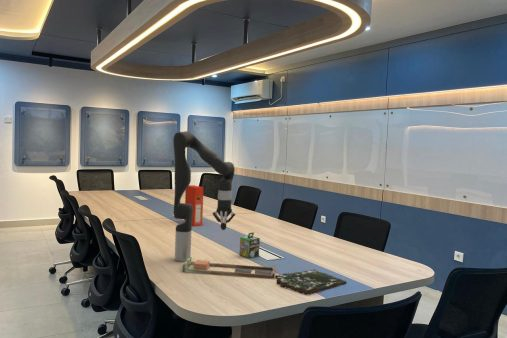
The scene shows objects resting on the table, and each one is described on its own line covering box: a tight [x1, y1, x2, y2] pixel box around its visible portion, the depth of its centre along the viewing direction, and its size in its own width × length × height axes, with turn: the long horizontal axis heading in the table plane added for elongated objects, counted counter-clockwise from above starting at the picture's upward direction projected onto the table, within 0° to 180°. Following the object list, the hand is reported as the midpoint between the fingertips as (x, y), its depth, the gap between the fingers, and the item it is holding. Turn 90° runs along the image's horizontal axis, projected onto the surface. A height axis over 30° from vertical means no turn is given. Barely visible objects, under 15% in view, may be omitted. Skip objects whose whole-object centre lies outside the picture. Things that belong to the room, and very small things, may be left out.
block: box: [193, 259, 211, 270], centre depth 219 cm, size 7×7×4 cm
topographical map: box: [274, 269, 347, 296], centre depth 206 cm, size 26×33×3 cm
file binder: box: [184, 184, 204, 227], centre depth 335 cm, size 8×17×32 cm, turn 36°
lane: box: [182, 256, 276, 279], centre depth 217 cm, size 14×49×4 cm, turn 86°
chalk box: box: [239, 232, 261, 259], centre depth 249 cm, size 9×9×15 cm
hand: (223, 229), depth 218 cm, fingers closed
